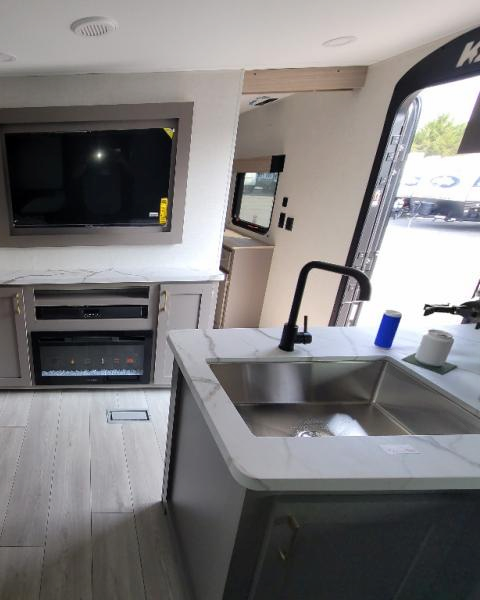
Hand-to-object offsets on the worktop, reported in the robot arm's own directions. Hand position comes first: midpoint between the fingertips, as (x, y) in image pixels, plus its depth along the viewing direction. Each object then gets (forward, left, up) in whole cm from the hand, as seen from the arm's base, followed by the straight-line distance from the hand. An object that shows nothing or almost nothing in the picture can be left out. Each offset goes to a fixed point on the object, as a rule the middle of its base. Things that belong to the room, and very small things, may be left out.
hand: (450, 319), depth 119 cm
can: (-2, +10, -15) cm, 18 cm away
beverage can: (+12, +10, -15) cm, 22 cm away
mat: (-2, +10, -15) cm, 18 cm away
